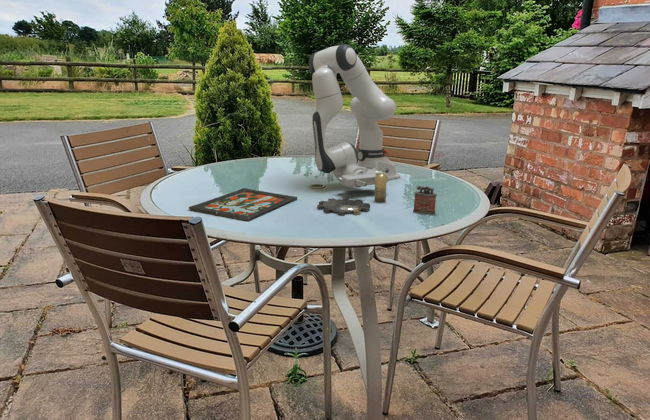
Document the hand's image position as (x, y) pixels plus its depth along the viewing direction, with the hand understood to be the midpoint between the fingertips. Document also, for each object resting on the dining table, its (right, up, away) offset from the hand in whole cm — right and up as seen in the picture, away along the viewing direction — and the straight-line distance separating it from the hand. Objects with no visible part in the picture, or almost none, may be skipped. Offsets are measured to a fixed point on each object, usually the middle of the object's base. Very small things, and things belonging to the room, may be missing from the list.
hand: (375, 183), depth 195 cm
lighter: (+17, -12, -15) cm, 25 cm away
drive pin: (+2, -7, -1) cm, 8 cm away
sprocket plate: (-13, -10, -11) cm, 20 cm away
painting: (-51, -9, -9) cm, 52 cm away
